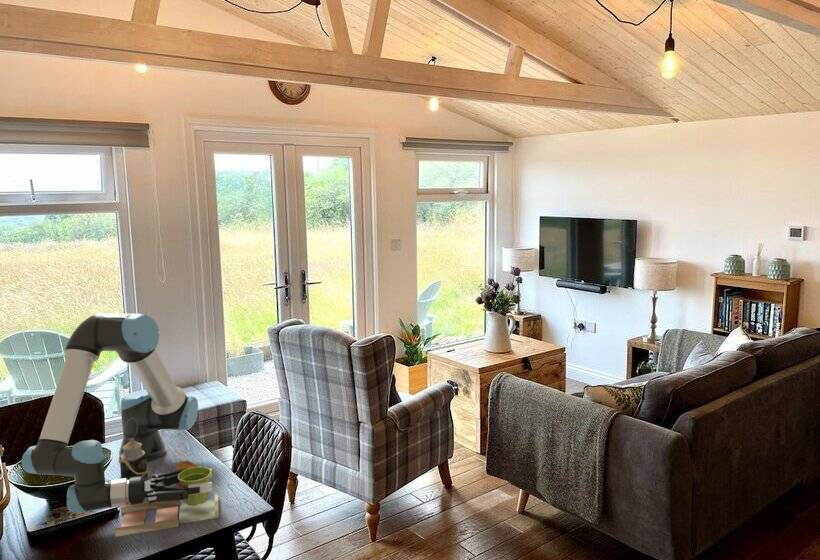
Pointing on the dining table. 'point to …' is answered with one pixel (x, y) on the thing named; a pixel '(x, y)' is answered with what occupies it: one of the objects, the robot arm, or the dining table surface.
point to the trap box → (164, 515)
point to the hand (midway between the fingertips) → (211, 479)
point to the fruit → (184, 467)
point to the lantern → (133, 459)
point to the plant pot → (195, 477)
